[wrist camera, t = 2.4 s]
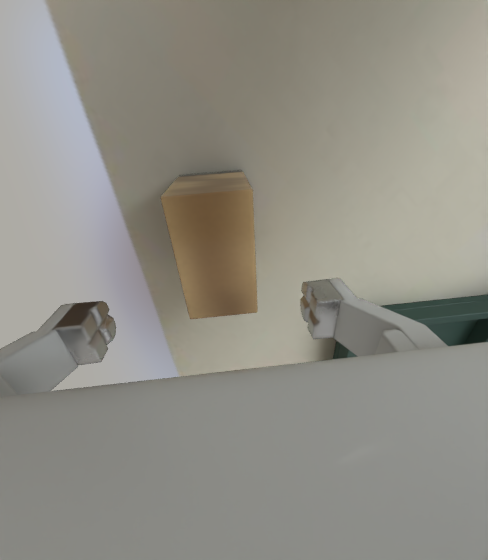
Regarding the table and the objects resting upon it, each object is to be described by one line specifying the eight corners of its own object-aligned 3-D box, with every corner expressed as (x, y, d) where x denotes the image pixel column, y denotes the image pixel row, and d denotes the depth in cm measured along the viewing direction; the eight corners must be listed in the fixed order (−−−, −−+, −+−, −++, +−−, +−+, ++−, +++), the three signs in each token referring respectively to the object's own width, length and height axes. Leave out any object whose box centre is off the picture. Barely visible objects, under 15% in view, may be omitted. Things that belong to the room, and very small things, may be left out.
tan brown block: (197, 270, 19) (190, 319, 14) (179, 174, 15) (160, 196, 10) (247, 265, 19) (257, 312, 14) (242, 169, 15) (252, 189, 10)
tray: (343, 309, 22) (354, 326, 20) (491, 294, 23) (516, 309, 21) (318, 426, 34) (324, 444, 32) (417, 414, 35) (428, 431, 33)
